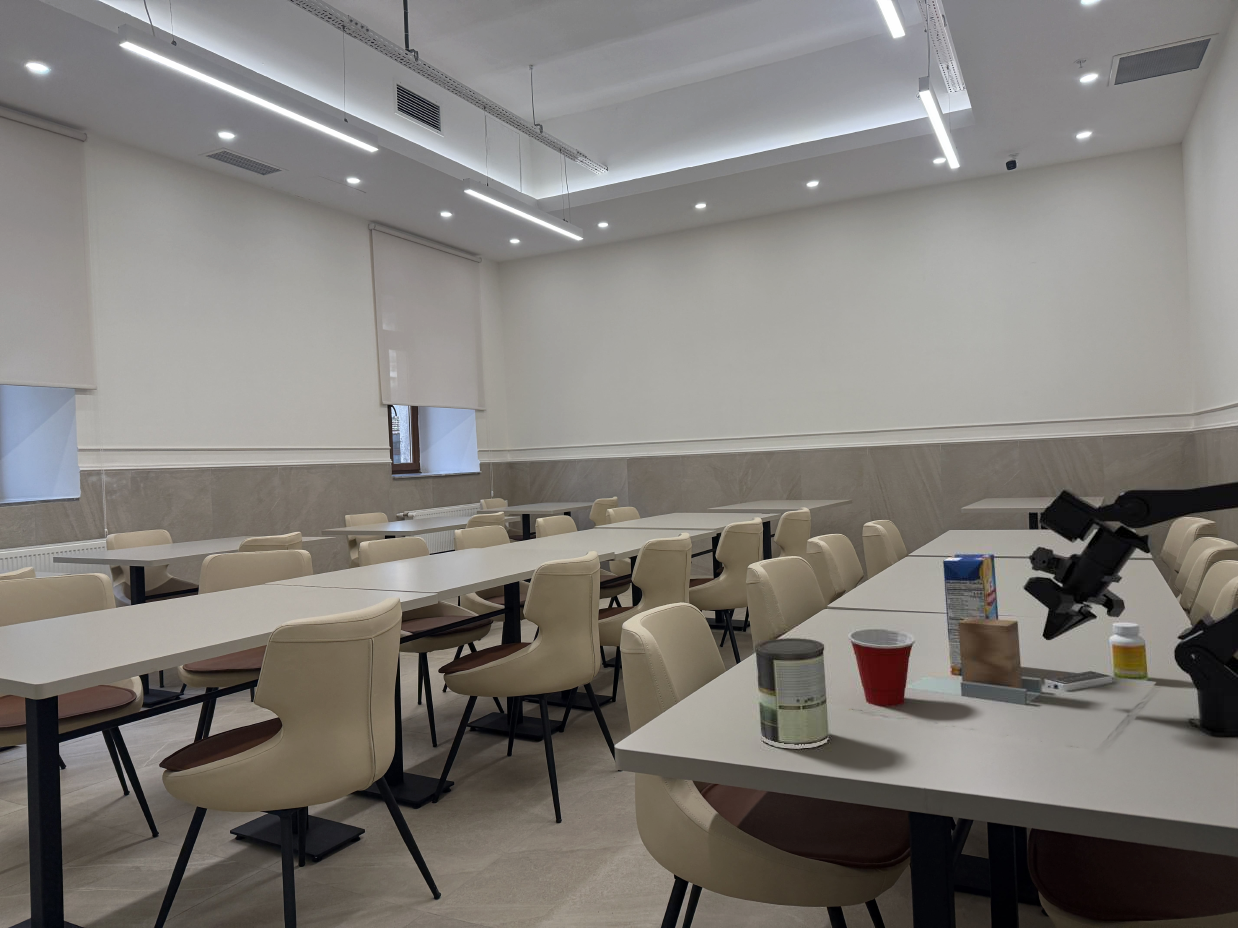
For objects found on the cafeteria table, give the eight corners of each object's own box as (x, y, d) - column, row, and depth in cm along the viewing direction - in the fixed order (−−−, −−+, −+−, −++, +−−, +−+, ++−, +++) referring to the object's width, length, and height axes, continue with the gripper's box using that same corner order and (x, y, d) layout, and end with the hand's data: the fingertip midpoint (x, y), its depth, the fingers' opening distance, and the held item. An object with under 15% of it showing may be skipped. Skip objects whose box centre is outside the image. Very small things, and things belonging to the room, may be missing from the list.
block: (1022, 692, 134) (1017, 620, 134) (1012, 699, 130) (1007, 626, 130) (973, 685, 139) (969, 617, 139) (963, 692, 136) (958, 622, 136)
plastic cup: (876, 719, 127) (871, 643, 127) (840, 702, 137) (835, 632, 137) (934, 709, 130) (929, 636, 130) (894, 693, 140) (890, 625, 140)
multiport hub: (1114, 689, 136) (1113, 675, 136) (1065, 698, 133) (1064, 684, 133) (1091, 683, 141) (1090, 670, 141) (1043, 692, 137) (1042, 678, 137)
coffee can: (748, 742, 119) (742, 648, 120) (780, 723, 127) (775, 635, 128) (811, 754, 113) (804, 655, 113) (841, 733, 121) (835, 641, 121)
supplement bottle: (1153, 683, 137) (1149, 626, 137) (1119, 683, 138) (1115, 627, 139) (1140, 675, 143) (1135, 621, 143) (1107, 675, 144) (1103, 621, 144)
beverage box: (951, 678, 148) (942, 560, 148) (964, 665, 157) (956, 554, 157) (991, 682, 144) (982, 560, 144) (1001, 668, 153) (993, 554, 153)
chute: (1042, 696, 133) (1041, 678, 133) (1025, 709, 127) (1024, 690, 127) (925, 680, 147) (924, 664, 147) (904, 692, 141) (903, 675, 141)
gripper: (1091, 536, 134) (1040, 609, 140) (1025, 525, 125) (973, 604, 130) (1151, 576, 125) (1094, 652, 131) (1084, 567, 116) (1026, 650, 122)
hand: (1045, 638), depth 129 cm, fingers closed
